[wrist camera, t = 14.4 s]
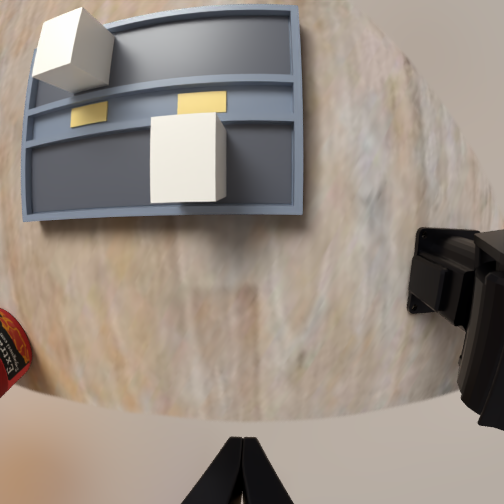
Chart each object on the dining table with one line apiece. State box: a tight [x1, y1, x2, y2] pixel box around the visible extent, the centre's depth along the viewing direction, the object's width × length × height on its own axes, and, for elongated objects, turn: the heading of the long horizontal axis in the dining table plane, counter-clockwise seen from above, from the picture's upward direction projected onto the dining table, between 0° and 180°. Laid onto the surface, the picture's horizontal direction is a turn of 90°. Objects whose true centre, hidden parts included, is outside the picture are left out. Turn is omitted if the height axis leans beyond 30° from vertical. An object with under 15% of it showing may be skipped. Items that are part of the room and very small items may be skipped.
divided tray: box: [21, 4, 303, 222], centre depth 17 cm, size 20×14×2 cm
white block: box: [150, 112, 227, 203], centre depth 15 cm, size 3×4×5 cm
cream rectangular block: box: [32, 7, 115, 94], centre depth 14 cm, size 3×4×5 cm
